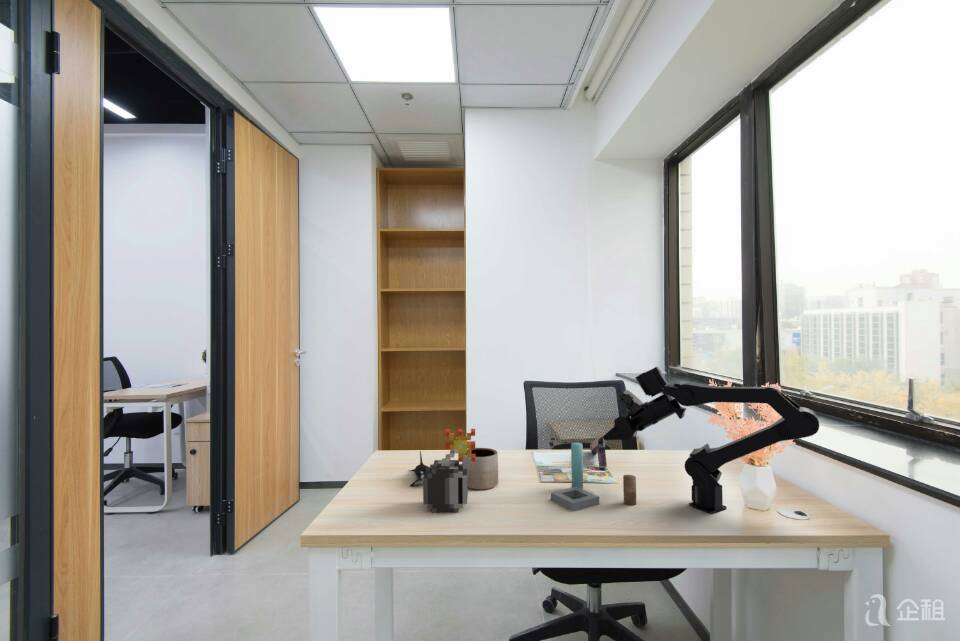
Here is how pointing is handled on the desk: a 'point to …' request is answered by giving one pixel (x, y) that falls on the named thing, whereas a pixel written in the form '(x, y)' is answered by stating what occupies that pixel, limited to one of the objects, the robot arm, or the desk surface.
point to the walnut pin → (629, 490)
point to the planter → (482, 468)
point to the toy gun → (599, 450)
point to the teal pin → (577, 464)
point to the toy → (419, 470)
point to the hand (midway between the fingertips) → (609, 435)
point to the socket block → (582, 502)
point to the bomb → (449, 476)
